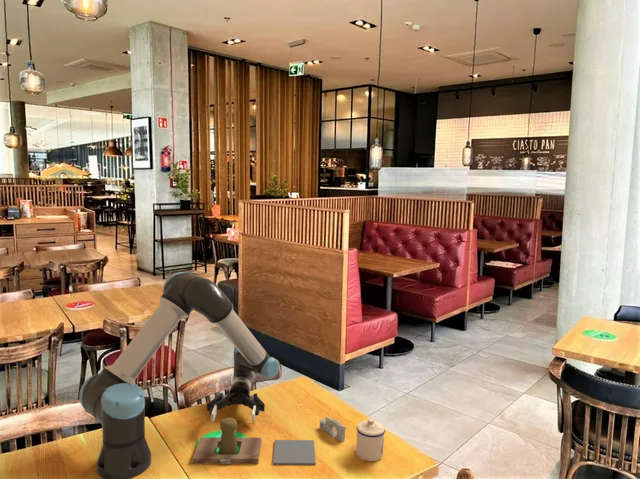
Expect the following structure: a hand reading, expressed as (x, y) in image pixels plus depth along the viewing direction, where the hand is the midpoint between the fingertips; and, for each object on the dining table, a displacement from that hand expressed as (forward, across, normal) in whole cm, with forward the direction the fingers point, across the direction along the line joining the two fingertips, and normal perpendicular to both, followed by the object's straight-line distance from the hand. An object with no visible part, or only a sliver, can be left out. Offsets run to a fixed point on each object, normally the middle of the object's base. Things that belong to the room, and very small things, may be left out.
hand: (232, 418), depth 161 cm
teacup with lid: (+8, -45, -7) cm, 46 cm away
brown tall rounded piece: (+9, 0, -7) cm, 12 cm away
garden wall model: (-2, -34, -7) cm, 35 cm away
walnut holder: (+9, 0, -7) cm, 11 cm away
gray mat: (+9, -21, -7) cm, 24 cm away
